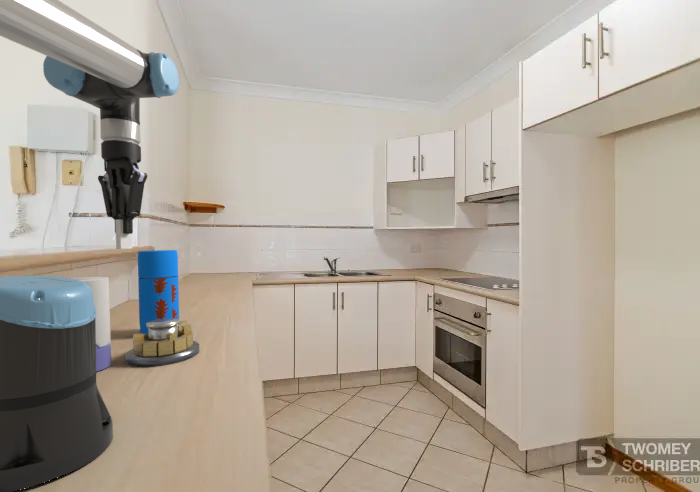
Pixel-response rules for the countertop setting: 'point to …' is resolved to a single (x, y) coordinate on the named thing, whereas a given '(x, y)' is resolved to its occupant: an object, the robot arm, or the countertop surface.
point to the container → (101, 319)
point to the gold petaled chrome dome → (164, 342)
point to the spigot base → (161, 358)
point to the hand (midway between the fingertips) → (124, 248)
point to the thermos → (157, 286)
